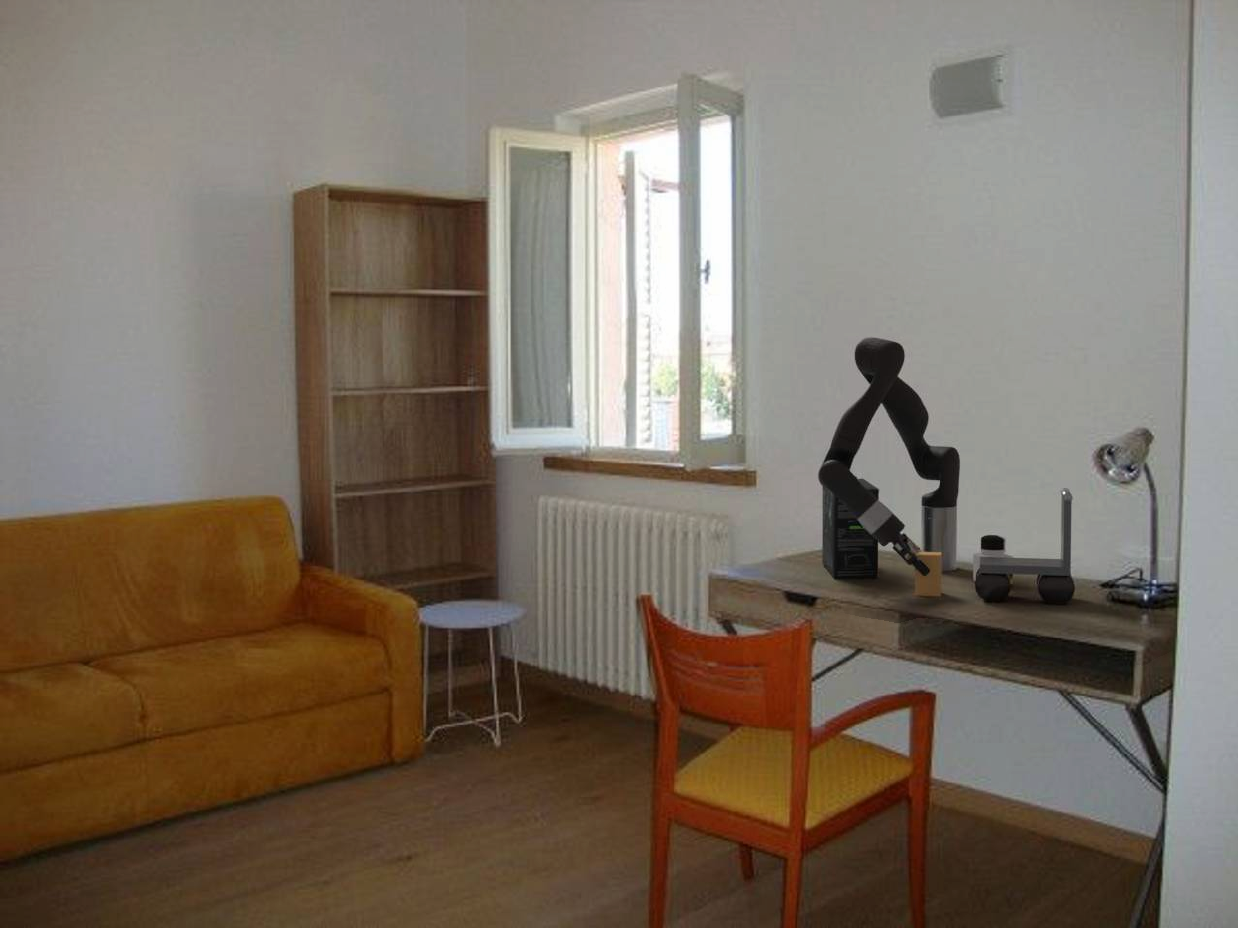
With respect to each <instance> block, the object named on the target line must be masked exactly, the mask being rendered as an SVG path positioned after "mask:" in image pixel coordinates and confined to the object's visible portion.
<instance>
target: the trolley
mask: <svg viewBox="0 0 1238 928" xmlns="http://www.w3.org/2000/svg"><path fill="white" fill-rule="evenodd" d="M1060 494H1061V495H1060V496H1061V511H1060V513H1061V515H1060V517H1061V520H1060V525H1061V527H1060V558H1032V557H1030V558H1029V557H1013V558H1005V557H980V567H979V569H978V570H977V573H976V579H975V581H974V587H975V593H976V594H977V595H978V597H979V598H981V599H982V600H983V601H985V602H988V603H992V602H995V603H1000V602H1001V601H1003V600H1006V598H1007V597H1008V596H1009V594H1010V592H1011V589H1012V586H1011V585H1012V584H1011V582H1010V574H1013V575H1026V576H1027V575H1033V576H1036V585H1037V590H1038V594H1039V596H1040V598H1041V599H1042V600H1043V601H1044V602H1045V603H1047V604H1049V605H1054V606H1060V605H1064V604H1066V603H1068V602H1069V601H1071V600H1072V598H1073V596H1074V594H1075V591H1076V589H1075V587H1076V586H1075V583H1074V580H1073V576H1072V574H1071V573H1072V572H1071V571H1072V570H1071V568H1072V567H1071V564H1072V563H1071V562H1072V561H1071V560H1072V557H1071V555H1072V504H1073V503H1072V501H1073V495H1072V494H1071V491H1070V489H1069V488H1067V487H1063V488H1061V490H1060Z"/></svg>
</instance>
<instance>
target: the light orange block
mask: <svg viewBox="0 0 1238 928" xmlns="http://www.w3.org/2000/svg"><path fill="white" fill-rule="evenodd" d="M916 555H917V556H918V557H919V559H920V560H921V561H922V562H923V563H924V564H925V565H926V566H927V567H928V568H929V569H930V572H929V573H928V574H927V575H926V576H923V575H922V574H921V573H920V572H919V571H918V570H917V569H916V568H915V567H914V583H915V584H914V595H915V596H917V597H918V596H923V597H942V573H943V571H942V552H916Z"/></svg>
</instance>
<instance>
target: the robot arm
mask: <svg viewBox="0 0 1238 928" xmlns="http://www.w3.org/2000/svg"><path fill="white" fill-rule="evenodd" d="M905 356H906V354H905V349H904V347H903V346H902V344H901V343H899V342H896V341H893V340H889V339H884V338H878V337H874V336H873V337H872V336H871V337H870V336H869V337H863V338H862V339H860V340H859V341H858V343H857V344H856V346H855V349H854V361H855V365H856V368H857V369H858V371H859V372H860V374H862V376H863V377H864V379H865V381H867V383H868V384H869V386H868V388H867V389H866V390H865V391H864V392H863V394H861V396H859V398H858V399H857V400H856V401H855V402H853V403H852V404H851V405H850V406H849V407H848V408H847V410H846V411H845V412H844V413H843V415H842V416H841V418H840V420H839V422H838V423H837V426H836V429H835V431H834V434H833V437H832V438H831V442H830V447H829V449H828V451H827V453H826V455H825V458H824V460H823V462H822V464H821V466H820V468H819V470H818V473H817V476H818V477H817V478H818V481H819V483H820V486H822V488H823V487H824V488H826V489H829V490H830V491H831V492H832V493H833V494H834V495H835V496H836V497H837V498H838V499H840V500H841V501H842V503H843V505H844V506H845V507H846V509H847V510H848V511H849V512H850V513H851V514H852V515H853V516H854V517H855V518H856V519H858V521H859V522H860V524H861V525H862V526H863V527H864V528H865V529H866V530H867V531H868V532H869V533H870V534H871V535H872V536H873V537H874V538H875V539H876V540H877V541H878V544H879V545H880V546H881V547H886V546H887V545H888V544H890V543H891V544H892V549H893V551H895V552H896V553H897V554H898V555H899V556H900V557H901V558H902V559H903V561H904V562H906V564H907V565H908V566H911V567H914V569H915V568H916V569H917V570H918V571H919V572H920V573H921V574H922V575H923V576H926V575H927V574H928V573H929V572H930V569H929V568H928V567H927V566H926V565H925V564H924V563H923V562H922V561H921V560H920V559H919V557H918V556H917V555H916V552H942V572H952V571H957V557H958V556H957V553H958V552H957V551H958V549H957V546H958V545H957V544H958V543H957V540H958V539H957V538H958V536H957V535H958V534H957V533H958V527H957V526H958V523H957V522H958V513H957V512H958V506H957V505H958V497H959V491H960V490H959V487H960V486H959V485H960V471H961V469H960V467H961V458H960V454H959V452H958V450H957V449H956V448H955V447H954V446H945V445H944V446H940V445H936V446H935V445H930V444H928V442H927V441H926V440H925V437H924V435H925V432H926V430H927V429H928V425H929V421H930V420H929V419H930V417H929V411H928V409H927V408H926V406H925V403H924V402H923V400H922V398H921V397H920V396H919V394H918V393H917V391H916V390H915V389H914V388H912V387H911V386H910V385H909V384H908V383H906V382H905V381H904V380H903V379H901V378H900V376H899V375H900V373H901V371H902V368H903V365H904V362H905V358H906V357H905ZM881 404H882V405H881ZM880 406H882V407H883V408H884V410H885V412H886V414H887V415H888V416H887V417H889V420H890V421H891V422H892V425H893V427H894V428H895V430H897V433H898V435H899V436H900V438H901V441H902V442H903V444H904V445H905V449H906V451H907V453H908V455H909V457H910V460H911V462H912V465H913V468H914V469H915V473H916V474H917V475H918V476H919V477H920V478H921V479H923V480H927V481H939V485H938V488H937V489H935V490H934V491H931V492H928V493H925V494H923V495H922V496H921V539H920V540H921V543H920V544H921V547H919V546H918V545H917V544H916V543H915V542H914V541H913V540H912V539H911V538H910V537H909V536H907V534H906V533H904V532H903V533H902V531H903V530H904V529H905V527H906V525H905V524H904V522H903V521H901V520H900V518H899V517H897V515H895V514H894V512H892V510H890V509H889V508H888V507H887V506H886V505H885V504H884V503H882V502H881V501H880V500H877V498H876V497H875V496H874V495H873V494H872V493H871V492H870V491H869V490H867V489H866V488H865V487H864V486H863V485H862V484H861V483H860V482H859V481H858V480H857V479H858V477H857V476H856V475H855V474H853V473H852V472H851V468H852V465H853V462H854V459H855V457H856V456H857V453H858V452H859V450H860V449H861V445H862V444H863V443H862V442H863V440H864V438H865V436H866V434H867V431H868V429H869V426H870V424H871V422H872V420H873V418H874V416H875V415H876V413H877V411H878V409H879V407H880ZM855 476H856V477H857V478H856V477H855Z"/></svg>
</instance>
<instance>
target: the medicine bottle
mask: <svg viewBox="0 0 1238 928" xmlns="http://www.w3.org/2000/svg"><path fill="white" fill-rule="evenodd" d="M1006 541H1007V540H1006V538H1005V537H1004V536H1002V535H997V534H987V535H986V534H985V535H984V536H982V537H980V552H978V553H973V560H972V561H973V565H972V567H973V568H972V569H973V572H972V574H973V575H972V579H973V582H975V579H976V573H977V570H978V569H979V567H980V557H1005V558H1014V557H1013V556H1012V555H1010V554H1006V549H1007V548H1006V545H1007V544H1006V543H1007V542H1006ZM1013 575H1014V574H1010V582H1011V585H1012V584H1013V583H1014V576H1013Z"/></svg>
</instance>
